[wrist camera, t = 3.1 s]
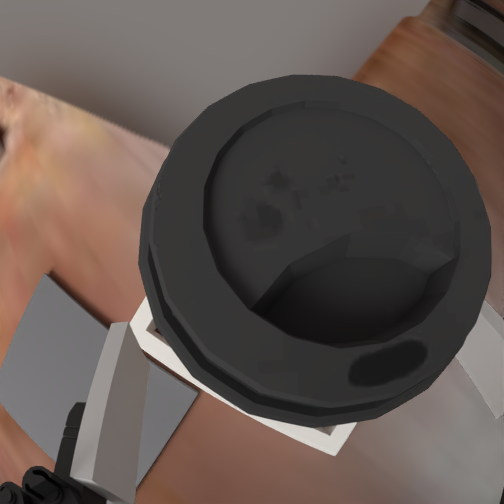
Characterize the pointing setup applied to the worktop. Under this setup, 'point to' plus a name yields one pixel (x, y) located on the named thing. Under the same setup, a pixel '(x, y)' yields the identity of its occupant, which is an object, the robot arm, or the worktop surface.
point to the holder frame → (158, 347)
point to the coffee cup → (314, 250)
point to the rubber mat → (76, 375)
